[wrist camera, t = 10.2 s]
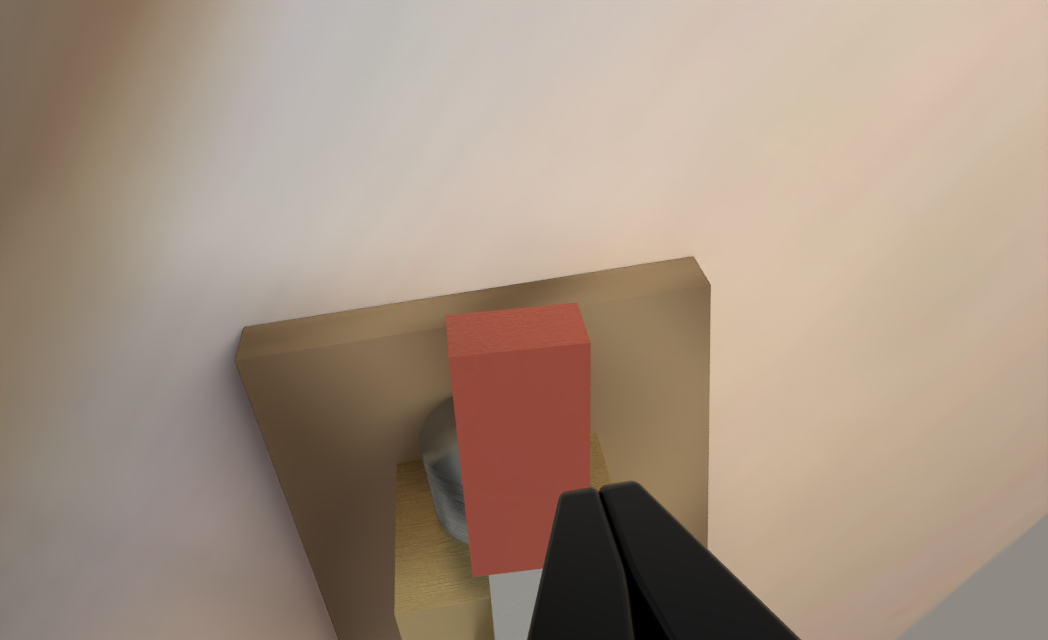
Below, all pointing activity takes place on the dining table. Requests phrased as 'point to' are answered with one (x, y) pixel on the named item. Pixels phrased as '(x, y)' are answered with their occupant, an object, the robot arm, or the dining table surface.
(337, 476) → the valve board
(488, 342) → the valve lever
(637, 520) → the robot arm
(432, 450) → the ball valve
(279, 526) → the dining table surface
